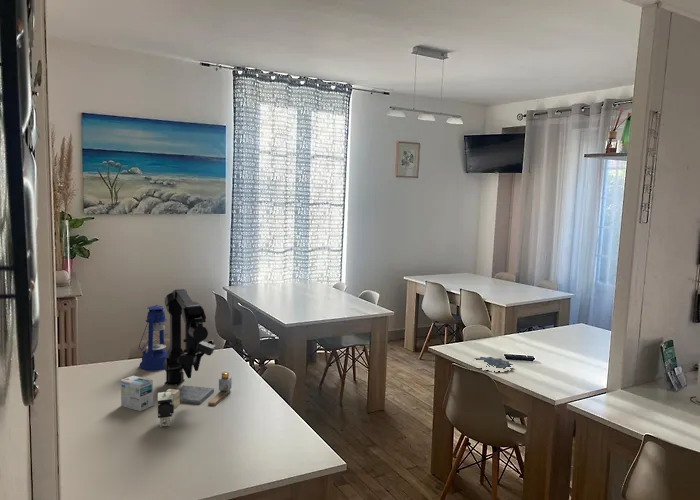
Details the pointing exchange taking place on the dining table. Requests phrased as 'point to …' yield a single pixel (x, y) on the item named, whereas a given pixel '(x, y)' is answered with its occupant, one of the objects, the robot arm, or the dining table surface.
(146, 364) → the lantern
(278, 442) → the dining table surface
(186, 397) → the press bed
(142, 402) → the light bulb box
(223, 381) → the grey and brass block
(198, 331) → the robot arm
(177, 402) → the housing block
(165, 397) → the pneumatic valve
